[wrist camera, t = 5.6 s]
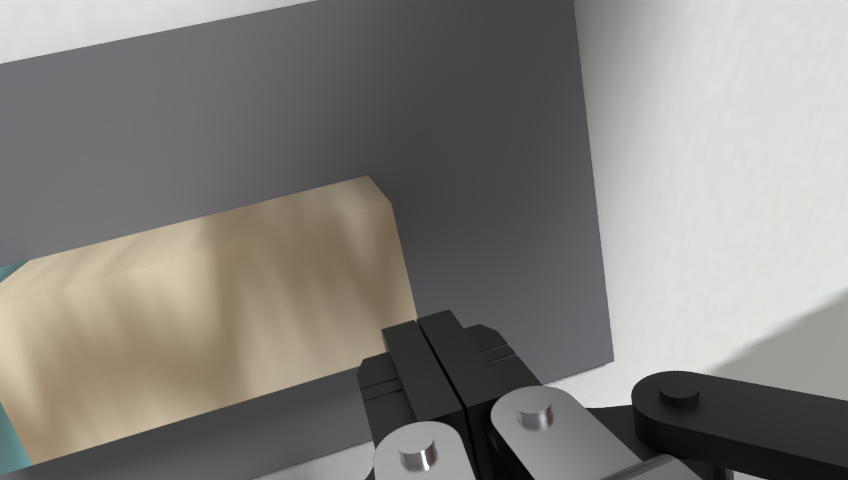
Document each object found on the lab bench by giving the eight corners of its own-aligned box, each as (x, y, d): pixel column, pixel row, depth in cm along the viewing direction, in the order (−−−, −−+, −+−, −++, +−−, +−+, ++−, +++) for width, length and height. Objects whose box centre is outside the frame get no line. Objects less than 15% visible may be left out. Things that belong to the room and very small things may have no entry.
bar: (367, 175, 20) (-5, 268, 18) (391, 203, 16) (-88, 327, 14) (396, 292, 22) (53, 390, 20) (424, 346, 18) (-8, 477, 16)
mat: (-399, 145, 16) (-416, 147, 15) (561, -48, 20) (567, -50, 20) (-108, 588, 21) (-115, 598, 20) (609, 356, 25) (614, 361, 25)
